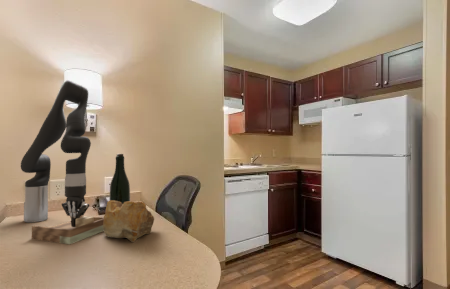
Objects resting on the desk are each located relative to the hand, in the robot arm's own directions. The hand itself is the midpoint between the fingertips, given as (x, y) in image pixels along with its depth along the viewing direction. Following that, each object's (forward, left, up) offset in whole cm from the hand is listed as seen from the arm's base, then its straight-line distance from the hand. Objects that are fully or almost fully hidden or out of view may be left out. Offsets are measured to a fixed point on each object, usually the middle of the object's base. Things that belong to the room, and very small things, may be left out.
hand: (75, 226), depth 99 cm
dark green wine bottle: (-5, +31, -3) cm, 32 cm away
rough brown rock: (+25, +5, -4) cm, 25 cm away
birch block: (+5, 0, -1) cm, 5 cm away
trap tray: (-2, 0, -3) cm, 4 cm away
